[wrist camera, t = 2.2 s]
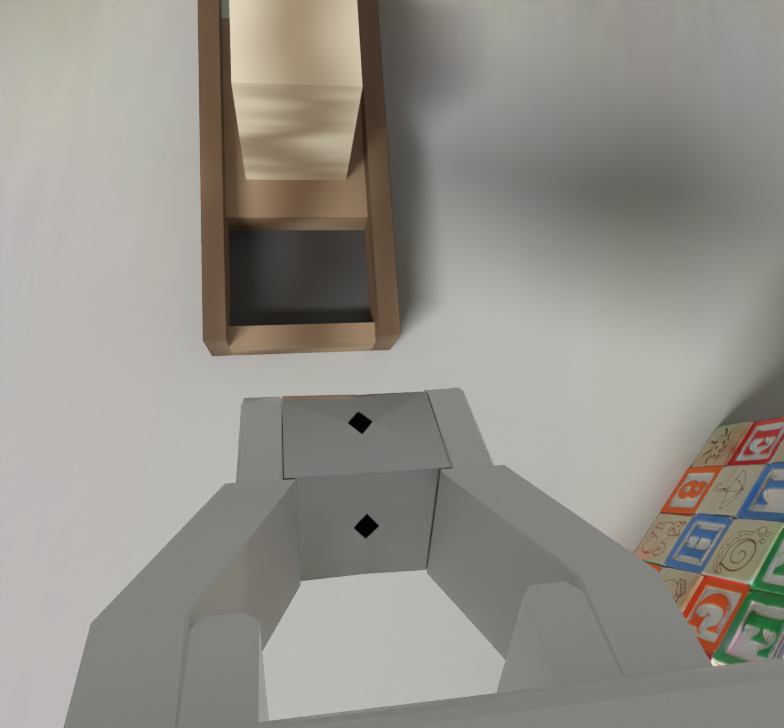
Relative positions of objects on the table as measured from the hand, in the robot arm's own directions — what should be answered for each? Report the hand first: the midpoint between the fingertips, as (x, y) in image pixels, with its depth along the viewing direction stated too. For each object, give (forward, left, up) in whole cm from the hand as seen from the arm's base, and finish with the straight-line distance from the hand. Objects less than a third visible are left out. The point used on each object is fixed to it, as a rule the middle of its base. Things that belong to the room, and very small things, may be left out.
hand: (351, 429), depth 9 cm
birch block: (0, +17, -22) cm, 27 cm away
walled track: (0, +19, -24) cm, 30 cm away
